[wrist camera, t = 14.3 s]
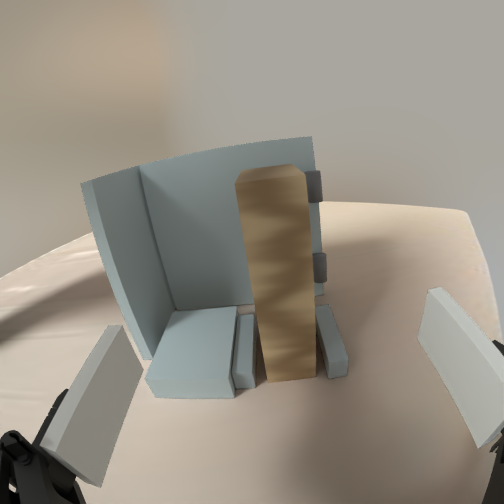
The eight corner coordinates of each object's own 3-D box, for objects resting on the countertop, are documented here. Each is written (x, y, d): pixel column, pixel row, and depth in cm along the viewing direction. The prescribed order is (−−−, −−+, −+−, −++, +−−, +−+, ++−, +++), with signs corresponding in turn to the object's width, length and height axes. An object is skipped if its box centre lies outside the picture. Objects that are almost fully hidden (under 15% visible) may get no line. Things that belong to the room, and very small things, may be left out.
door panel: (267, 382, 21) (234, 183, 15) (266, 331, 28) (241, 170, 22) (315, 377, 21) (305, 174, 15) (305, 326, 28) (291, 163, 22)
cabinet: (127, 395, 21) (41, 198, 14) (169, 302, 36) (133, 166, 29) (357, 382, 20) (366, 135, 13) (322, 286, 34) (310, 136, 27)
